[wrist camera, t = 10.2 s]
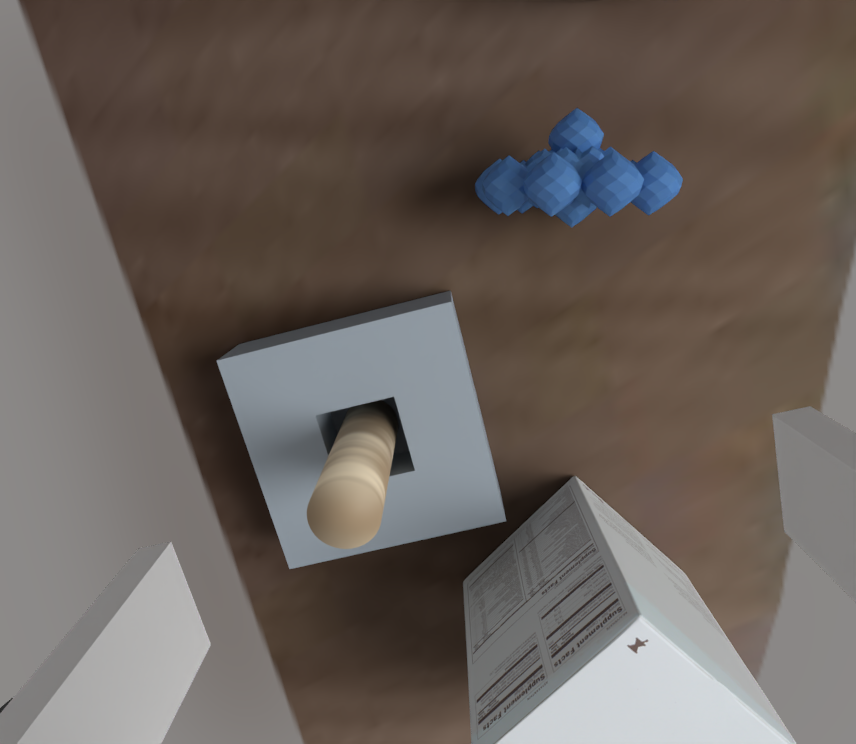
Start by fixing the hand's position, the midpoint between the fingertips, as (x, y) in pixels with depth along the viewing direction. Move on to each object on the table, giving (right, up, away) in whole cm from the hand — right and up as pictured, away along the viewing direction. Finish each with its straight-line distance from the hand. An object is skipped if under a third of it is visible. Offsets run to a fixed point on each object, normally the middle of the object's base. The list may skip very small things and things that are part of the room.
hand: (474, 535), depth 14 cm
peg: (-5, 0, +34) cm, 34 cm away
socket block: (-5, 0, +35) cm, 35 cm away
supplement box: (+11, -13, +38) cm, 42 cm away
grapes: (+8, +17, +30) cm, 36 cm away
